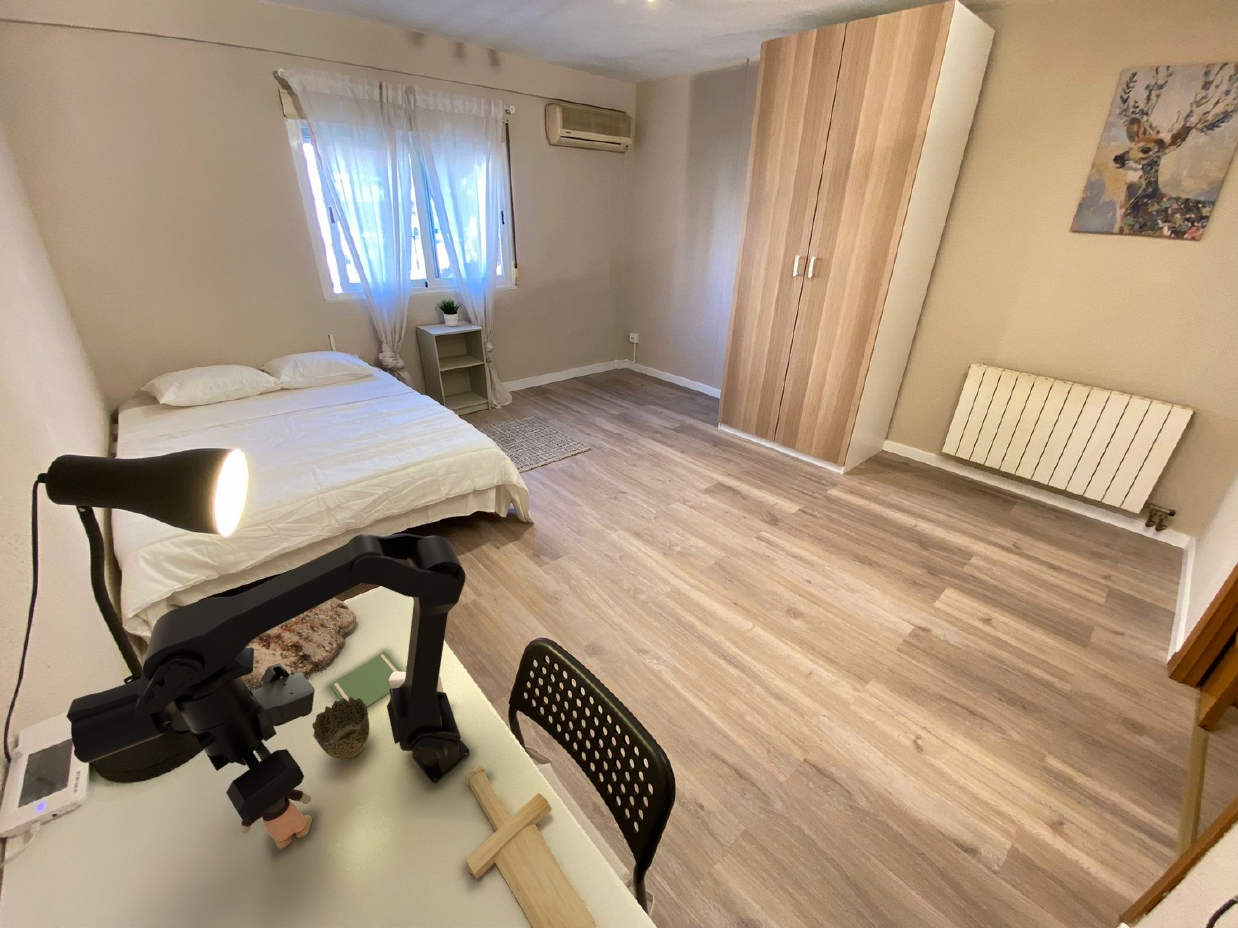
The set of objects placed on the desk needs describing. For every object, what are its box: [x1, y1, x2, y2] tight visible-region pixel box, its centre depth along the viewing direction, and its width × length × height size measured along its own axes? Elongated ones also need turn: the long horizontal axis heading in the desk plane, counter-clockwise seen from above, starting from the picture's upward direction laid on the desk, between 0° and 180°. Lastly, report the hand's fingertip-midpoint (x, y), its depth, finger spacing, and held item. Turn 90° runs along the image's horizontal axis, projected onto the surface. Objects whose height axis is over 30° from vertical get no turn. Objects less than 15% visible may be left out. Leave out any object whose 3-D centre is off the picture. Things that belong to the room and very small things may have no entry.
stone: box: [242, 597, 357, 688], centre depth 94 cm, size 22×8×15 cm
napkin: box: [329, 651, 403, 709], centre depth 90 cm, size 9×10×1 cm
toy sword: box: [465, 764, 597, 928], centre depth 65 cm, size 12×3×30 cm
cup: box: [312, 697, 370, 761], centre depth 77 cm, size 8×7×8 cm
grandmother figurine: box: [240, 788, 313, 850], centre depth 66 cm, size 8×4×13 cm, turn 134°
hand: (263, 784), depth 64 cm, fingers open, 9 cm apart
